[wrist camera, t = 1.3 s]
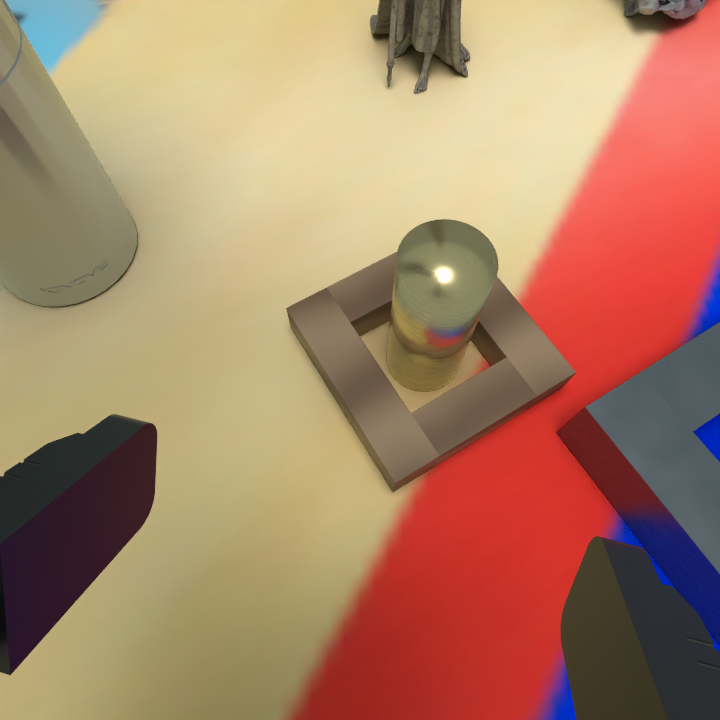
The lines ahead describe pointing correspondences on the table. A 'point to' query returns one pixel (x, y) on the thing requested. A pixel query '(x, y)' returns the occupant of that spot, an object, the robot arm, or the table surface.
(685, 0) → the mineral specimen
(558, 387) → the walnut stand
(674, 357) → the charcoal block
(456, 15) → the wizard figurine
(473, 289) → the brass peg
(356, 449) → the table surface
